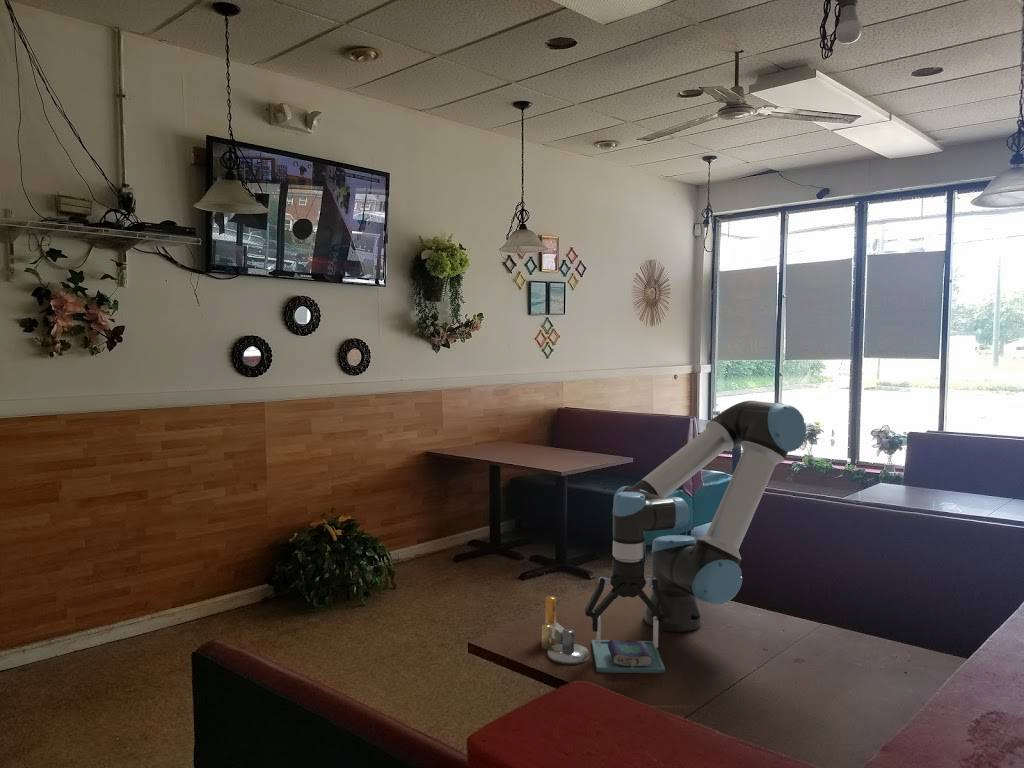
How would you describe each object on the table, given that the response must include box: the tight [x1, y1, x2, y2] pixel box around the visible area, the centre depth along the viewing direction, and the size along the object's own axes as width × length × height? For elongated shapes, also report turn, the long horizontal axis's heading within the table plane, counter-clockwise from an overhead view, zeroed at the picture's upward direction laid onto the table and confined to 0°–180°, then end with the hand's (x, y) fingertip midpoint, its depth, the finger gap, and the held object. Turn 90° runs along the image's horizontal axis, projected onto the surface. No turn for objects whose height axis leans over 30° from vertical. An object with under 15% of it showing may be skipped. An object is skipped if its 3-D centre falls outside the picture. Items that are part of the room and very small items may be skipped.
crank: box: [544, 595, 565, 645], centre depth 185 cm, size 9×3×9 cm, turn 23°
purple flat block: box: [608, 639, 652, 669], centre depth 173 cm, size 9×3×11 cm
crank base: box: [541, 623, 590, 665], centre depth 179 cm, size 11×11×6 cm
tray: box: [591, 639, 666, 674], centre depth 178 cm, size 16×16×1 cm
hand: (627, 644), depth 177 cm, fingers open, 13 cm apart
